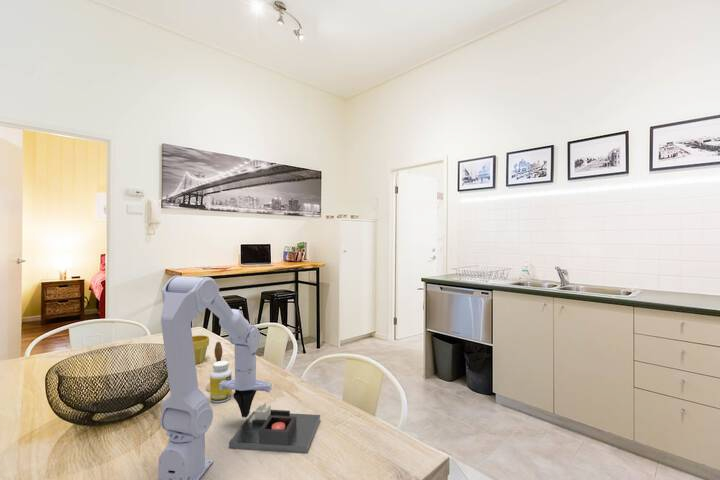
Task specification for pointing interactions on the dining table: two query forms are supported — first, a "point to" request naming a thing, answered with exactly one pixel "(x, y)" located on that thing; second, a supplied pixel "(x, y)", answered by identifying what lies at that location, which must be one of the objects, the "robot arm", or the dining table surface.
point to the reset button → (278, 426)
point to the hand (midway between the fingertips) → (245, 415)
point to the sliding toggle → (263, 412)
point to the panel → (277, 432)
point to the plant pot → (200, 347)
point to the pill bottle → (217, 377)
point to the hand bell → (218, 357)
